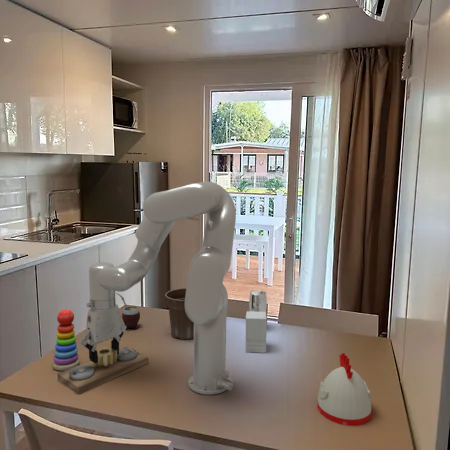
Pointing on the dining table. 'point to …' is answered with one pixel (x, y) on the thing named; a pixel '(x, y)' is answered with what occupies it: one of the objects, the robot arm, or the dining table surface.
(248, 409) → the dining table surface
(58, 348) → the stacking toy
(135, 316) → the mate gourd
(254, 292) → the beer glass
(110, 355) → the brass gear
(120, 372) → the gear board
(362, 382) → the kitchen timer
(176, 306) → the plant pot
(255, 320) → the supplement box
